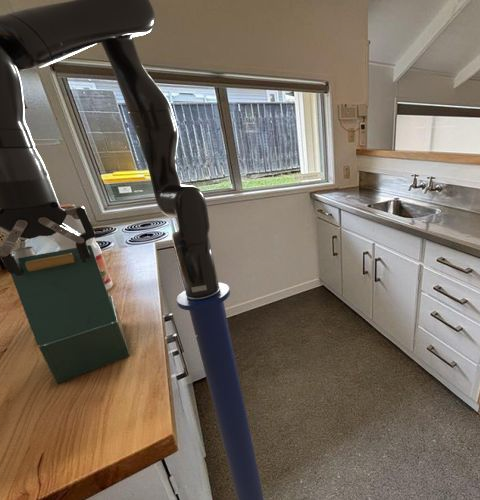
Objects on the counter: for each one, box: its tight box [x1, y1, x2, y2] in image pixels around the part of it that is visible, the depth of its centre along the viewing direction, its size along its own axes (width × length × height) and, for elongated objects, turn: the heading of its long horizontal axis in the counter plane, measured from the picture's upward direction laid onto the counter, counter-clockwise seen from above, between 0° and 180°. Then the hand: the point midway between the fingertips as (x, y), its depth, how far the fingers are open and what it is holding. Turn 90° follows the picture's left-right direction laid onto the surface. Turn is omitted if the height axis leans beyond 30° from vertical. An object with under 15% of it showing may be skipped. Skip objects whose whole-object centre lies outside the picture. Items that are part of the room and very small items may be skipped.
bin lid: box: [10, 245, 117, 347], centre depth 53 cm, size 16×12×5 cm
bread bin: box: [38, 295, 130, 385], centre depth 63 cm, size 16×12×9 cm
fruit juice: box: [52, 203, 114, 291], centre depth 87 cm, size 9×9×28 cm
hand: (54, 267), depth 52 cm, fingers open, 8 cm apart
